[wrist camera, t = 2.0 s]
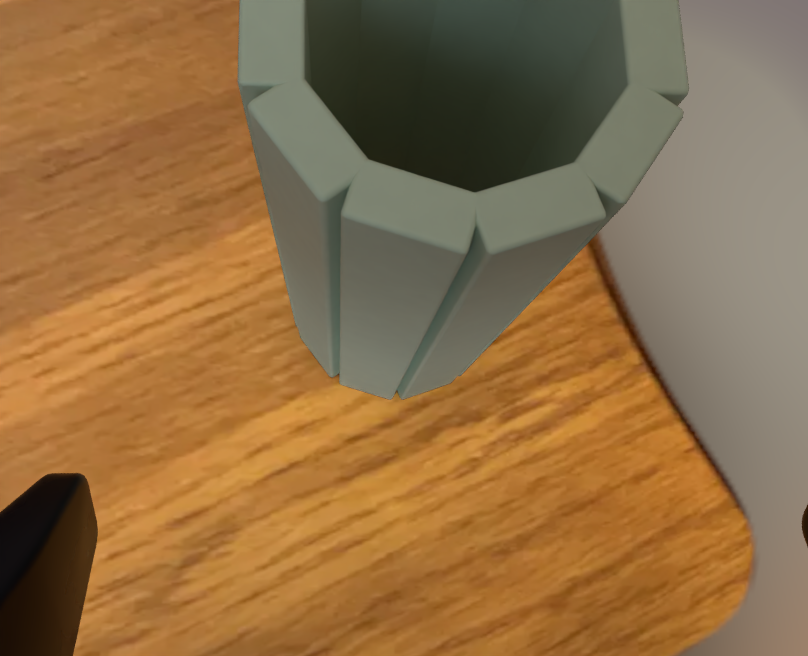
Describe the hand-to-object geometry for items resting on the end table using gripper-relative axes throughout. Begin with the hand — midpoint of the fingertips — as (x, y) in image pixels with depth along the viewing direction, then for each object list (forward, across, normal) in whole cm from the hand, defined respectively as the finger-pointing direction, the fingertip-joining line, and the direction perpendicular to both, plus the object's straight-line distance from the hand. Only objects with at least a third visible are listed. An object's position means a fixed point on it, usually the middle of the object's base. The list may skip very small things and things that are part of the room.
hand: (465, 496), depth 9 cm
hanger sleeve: (+12, 0, +4) cm, 13 cm away
